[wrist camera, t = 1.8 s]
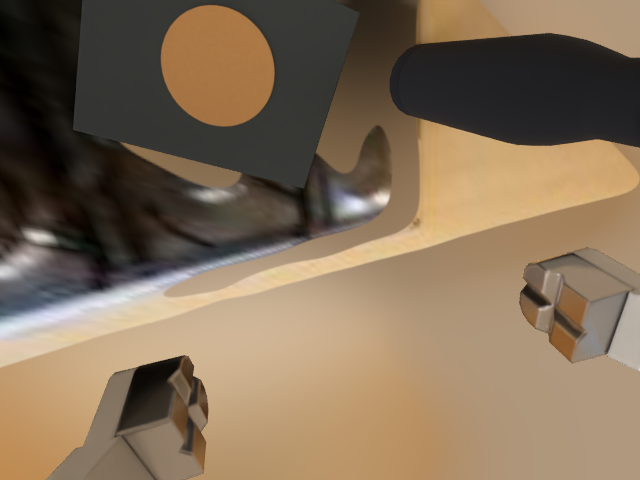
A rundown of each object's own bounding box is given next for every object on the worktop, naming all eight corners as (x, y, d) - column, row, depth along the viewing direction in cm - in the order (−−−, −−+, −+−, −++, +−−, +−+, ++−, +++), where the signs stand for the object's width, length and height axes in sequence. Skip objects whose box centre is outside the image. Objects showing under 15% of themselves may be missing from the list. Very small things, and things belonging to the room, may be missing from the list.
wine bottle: (375, 87, 34) (897, 172, 8) (421, 27, 33) (1228, -110, 7) (418, 129, 37) (901, 292, 11) (461, 75, 35) (1131, 114, 9)
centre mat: (93, -110, 24) (90, -115, 23) (358, 13, 31) (360, 12, 30) (75, 128, 29) (72, 130, 29) (302, 186, 36) (304, 188, 36)
